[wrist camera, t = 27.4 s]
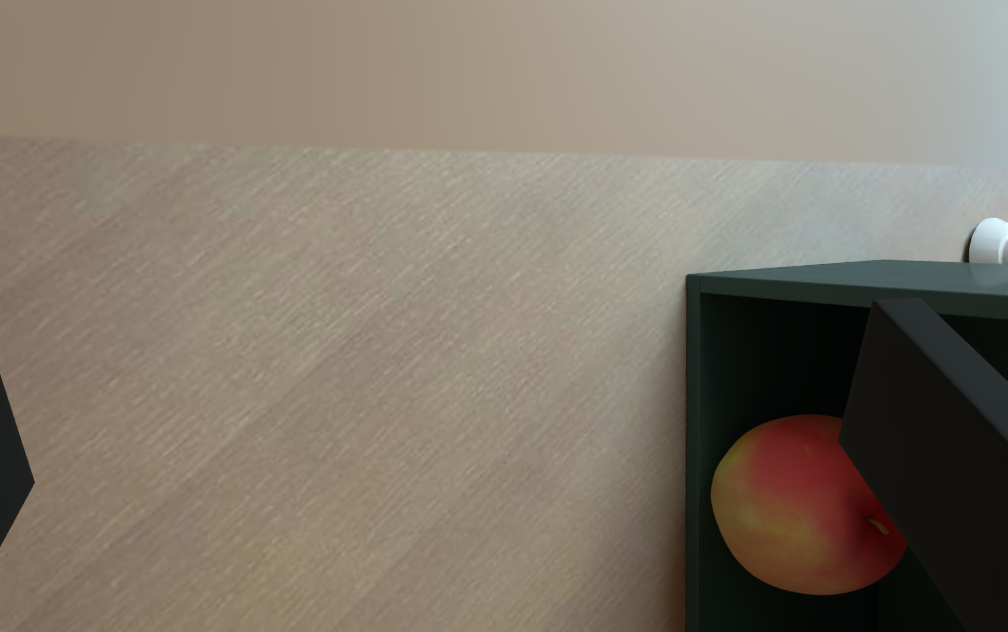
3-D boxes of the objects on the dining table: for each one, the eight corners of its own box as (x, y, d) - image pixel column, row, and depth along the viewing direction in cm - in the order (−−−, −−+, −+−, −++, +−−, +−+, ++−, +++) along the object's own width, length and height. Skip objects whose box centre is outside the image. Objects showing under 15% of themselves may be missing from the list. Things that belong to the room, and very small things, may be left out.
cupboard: (685, 742, 53) (1145, 1057, 33) (686, 274, 50) (1197, 307, 30) (871, 657, 63) (1315, 860, 43) (883, 259, 60) (1369, 277, 40)
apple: (707, 375, 50) (863, 405, 42) (807, 422, 55) (965, 457, 47) (654, 541, 49) (804, 606, 41) (761, 573, 54) (914, 637, 46)
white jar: (957, 274, 64) (991, 294, 67) (998, 276, 62) (1032, 296, 65) (972, 209, 65) (1006, 230, 68) (1014, 208, 62) (1047, 230, 65)
